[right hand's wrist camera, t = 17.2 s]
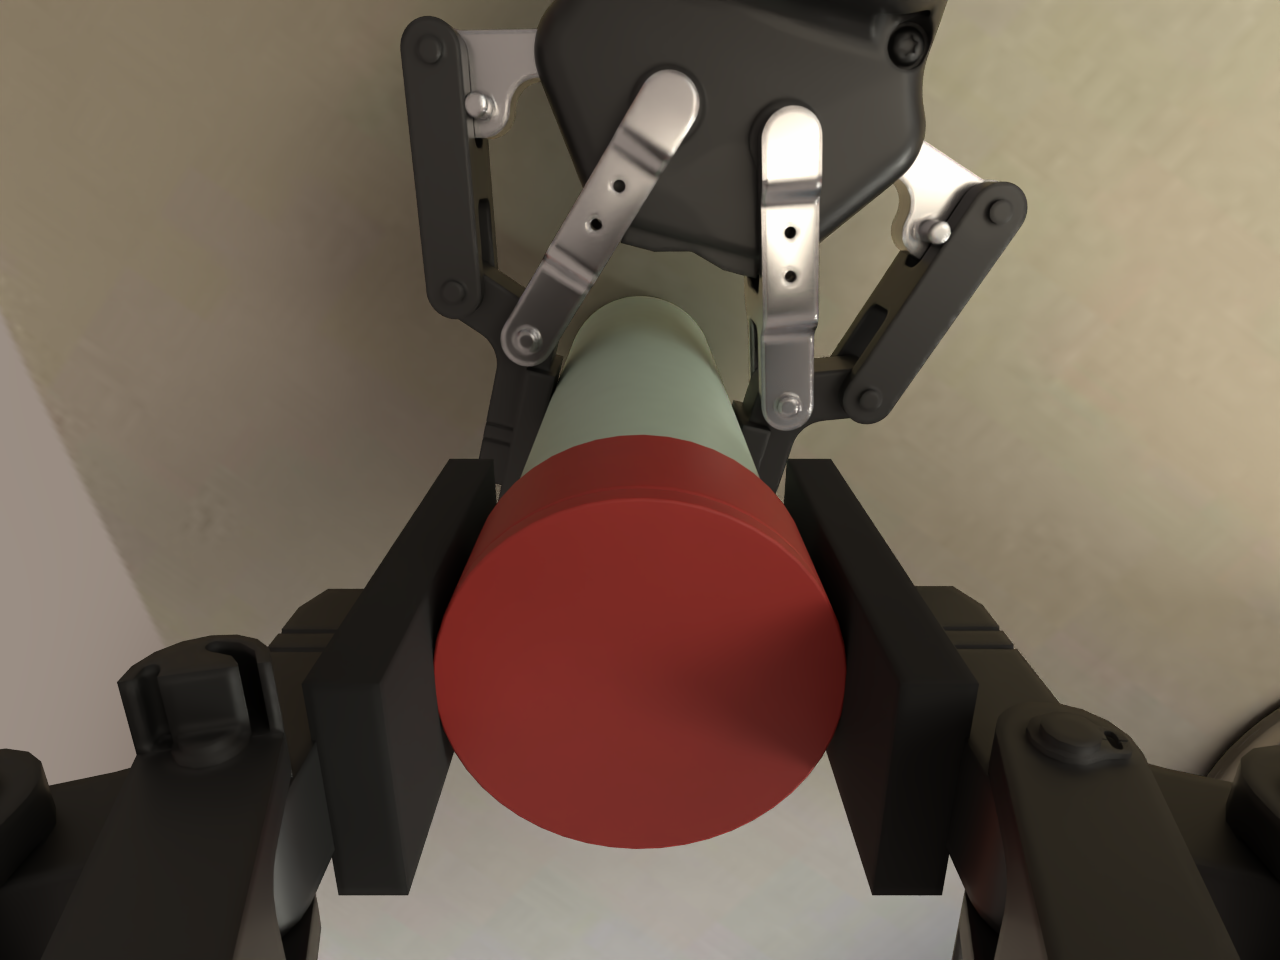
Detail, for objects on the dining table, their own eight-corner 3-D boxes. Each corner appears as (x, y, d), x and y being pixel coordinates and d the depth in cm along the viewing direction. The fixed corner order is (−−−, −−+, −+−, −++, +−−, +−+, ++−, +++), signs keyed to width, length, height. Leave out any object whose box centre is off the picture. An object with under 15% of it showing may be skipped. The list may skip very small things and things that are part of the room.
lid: (863, 651, 13) (911, 756, 10) (579, 778, 13) (566, 900, 11) (714, 368, 11) (733, 419, 9) (402, 533, 12) (347, 619, 10)
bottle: (587, 447, 27) (518, 816, 12) (553, 313, 26) (419, 533, 10) (722, 420, 27) (835, 762, 11) (696, 281, 25) (786, 459, 10)
